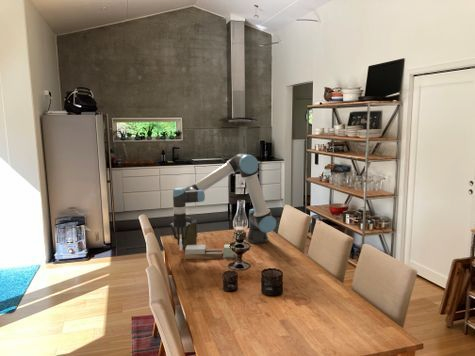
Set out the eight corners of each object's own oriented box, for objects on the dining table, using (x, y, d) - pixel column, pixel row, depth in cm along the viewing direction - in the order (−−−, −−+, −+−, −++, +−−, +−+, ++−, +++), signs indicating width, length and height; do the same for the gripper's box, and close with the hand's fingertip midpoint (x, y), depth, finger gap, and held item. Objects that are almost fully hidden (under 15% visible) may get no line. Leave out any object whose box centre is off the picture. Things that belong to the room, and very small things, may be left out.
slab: (187, 249, 244) (186, 244, 244) (205, 249, 245) (205, 244, 244) (185, 254, 236) (185, 249, 235) (204, 253, 236) (204, 249, 235)
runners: (186, 253, 245) (186, 249, 244) (222, 253, 245) (222, 248, 245) (184, 258, 236) (184, 254, 236) (221, 258, 236) (221, 253, 236)
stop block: (224, 253, 244) (224, 244, 243) (233, 253, 244) (233, 244, 243) (224, 256, 238) (224, 247, 237) (233, 256, 238) (233, 247, 237)
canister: (179, 247, 257) (178, 218, 254) (185, 243, 267) (184, 215, 264) (194, 249, 254) (193, 220, 251) (200, 244, 264) (199, 216, 261)
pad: (223, 252, 246) (223, 252, 246) (235, 252, 246) (235, 252, 246) (222, 258, 236) (222, 257, 236) (235, 258, 236) (235, 257, 236)
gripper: (168, 214, 233) (169, 251, 236) (189, 214, 233) (190, 251, 236) (170, 211, 240) (171, 247, 243) (190, 211, 240) (192, 247, 244)
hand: (181, 249), depth 240 cm, fingers closed
